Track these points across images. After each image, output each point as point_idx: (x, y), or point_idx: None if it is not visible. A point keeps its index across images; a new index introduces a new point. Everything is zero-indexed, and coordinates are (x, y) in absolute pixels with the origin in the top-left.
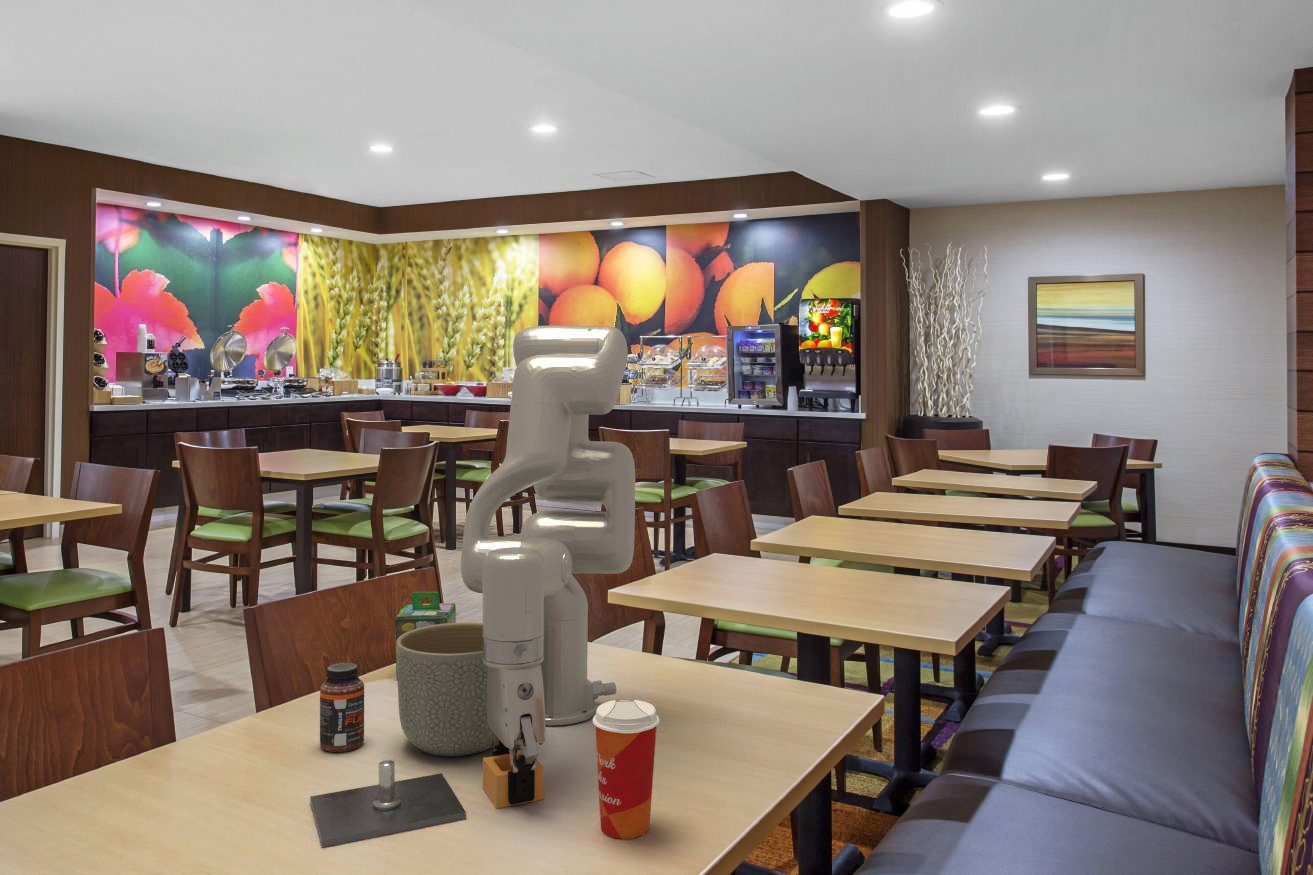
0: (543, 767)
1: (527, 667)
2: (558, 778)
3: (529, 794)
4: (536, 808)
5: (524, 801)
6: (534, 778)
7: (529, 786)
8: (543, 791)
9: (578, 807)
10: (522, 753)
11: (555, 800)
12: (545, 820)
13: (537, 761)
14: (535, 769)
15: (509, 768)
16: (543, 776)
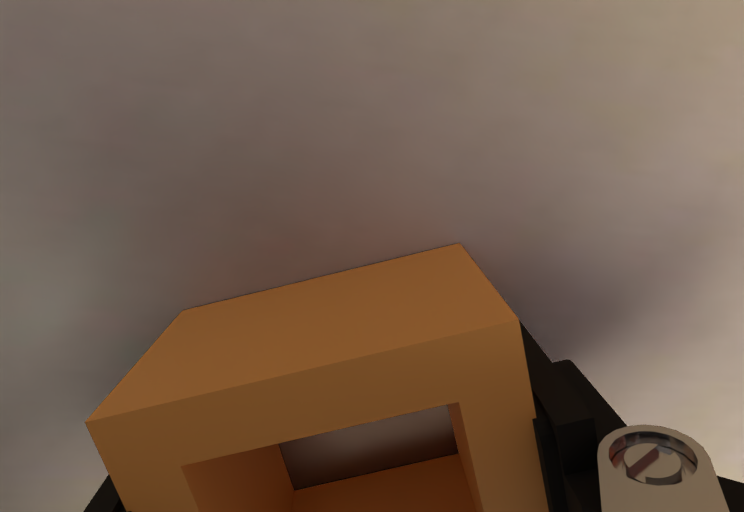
0: (513, 321)
1: None
2: (168, 119)
3: (566, 360)
4: (563, 291)
5: None
6: (556, 369)
7: (592, 389)
8: (470, 257)
9: (628, 39)
10: (163, 470)
11: (491, 175)
12: (719, 256)
13: (364, 361)
14: (527, 387)
15: (241, 489)
16: (496, 292)
